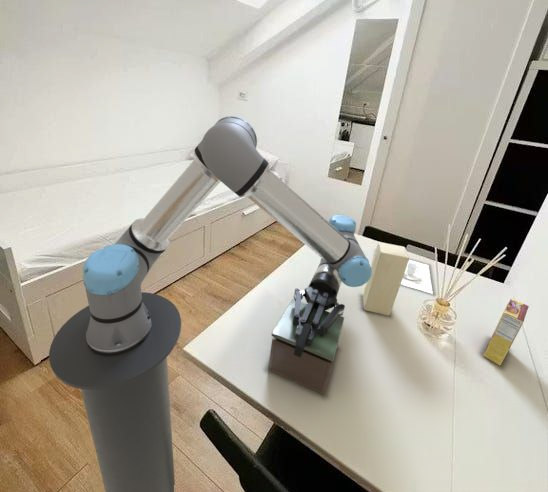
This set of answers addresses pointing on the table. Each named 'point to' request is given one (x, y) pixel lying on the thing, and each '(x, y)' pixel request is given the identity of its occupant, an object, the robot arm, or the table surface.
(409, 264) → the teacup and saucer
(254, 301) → the table surface
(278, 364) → the chest
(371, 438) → the table surface
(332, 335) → the chest lid
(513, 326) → the candy box
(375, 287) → the toy refrigerator
